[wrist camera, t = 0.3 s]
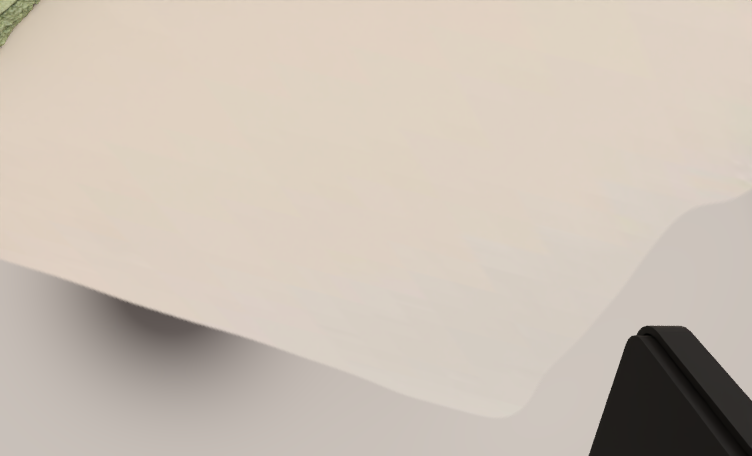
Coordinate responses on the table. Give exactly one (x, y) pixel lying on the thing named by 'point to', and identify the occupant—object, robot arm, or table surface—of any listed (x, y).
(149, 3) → the table surface
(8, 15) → the washcloth
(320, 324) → the table surface
